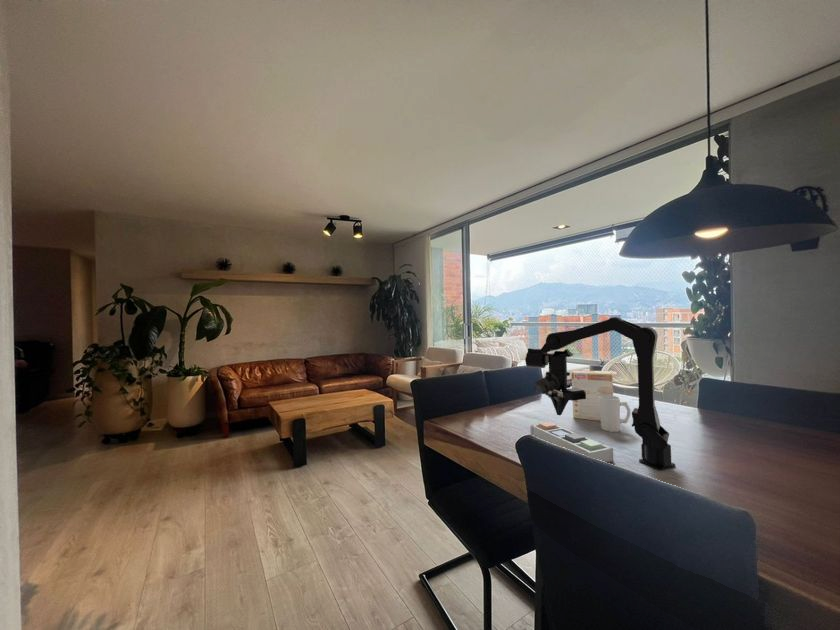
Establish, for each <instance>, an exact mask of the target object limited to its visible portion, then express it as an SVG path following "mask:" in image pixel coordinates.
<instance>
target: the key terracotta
mask: <svg viewBox="0 0 840 630" xmlns="http://www.w3.org/2000/svg"><path fill="white" fill-rule="evenodd" d="M538 424H539V428H540V429H543V430H545V431H546V430H552V429H556V425H557V424H555V423H553V422H551V423H550V421H543V422H538Z"/></svg>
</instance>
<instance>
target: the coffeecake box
mask: <svg viewBox="0 0 840 630" xmlns="http://www.w3.org/2000/svg"><path fill="white" fill-rule="evenodd" d="M570 373H571V374H570V375H571V388H578V389H582V390H584V391H585V392H586V399H581V400H574V401H572V418H573V419H579V420H580V419H581V420H589V421H597V422H601V418H600V401H599V396H602V395H610V396H614V386H613V385H614V384H613V382H614V379H613V371H609V370H608V371H607V370H588V369H587V370H585V369H583V370H582V369H581V370H580V369H573V370H572V371H571V372H570Z"/></svg>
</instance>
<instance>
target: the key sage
mask: <svg viewBox="0 0 840 630" xmlns="http://www.w3.org/2000/svg"><path fill="white" fill-rule="evenodd" d="M589 439H590V440H585V441H580V447H582V448H584V449H587V450H589V451H594V450H599V449H602V444H603V443H600V442H598V441H596V440H593V439H592V438H589Z"/></svg>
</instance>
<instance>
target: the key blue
mask: <svg viewBox="0 0 840 630" xmlns="http://www.w3.org/2000/svg"><path fill="white" fill-rule="evenodd" d="M551 434H554V435H556V436H558V437H560V436H565V435H566V434H569V433H566V432H564V431H562V430H559V431H554V432H551Z"/></svg>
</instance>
